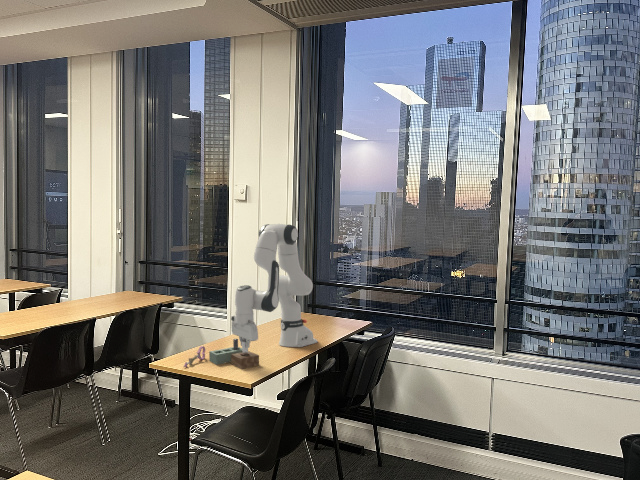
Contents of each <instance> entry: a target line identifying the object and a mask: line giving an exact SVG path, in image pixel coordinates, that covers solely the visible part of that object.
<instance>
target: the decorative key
mask: <svg viewBox="0 0 640 480" xmlns="http://www.w3.org/2000/svg"><path fill="white" fill-rule="evenodd" d="M201 355H202V356H201ZM205 358H206V347H205V346H204V345H203V346H202V345H201V346H199V348H198V350H197V351H196V355H195V354H194V356H193V357H192V358H191V357H188V361H185V363H184V365H183V368H188V365H189V366H192V365H193V363H194V361H195V360H197V359H199V360H204V359H205Z"/></svg>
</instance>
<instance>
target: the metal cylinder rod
mask: <svg viewBox="0 0 640 480" xmlns="http://www.w3.org/2000/svg"><path fill="white" fill-rule="evenodd" d="M245 344H246V339H244V338H242V346H241V348H242V356H248V351H249V348H246V347H245Z"/></svg>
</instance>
